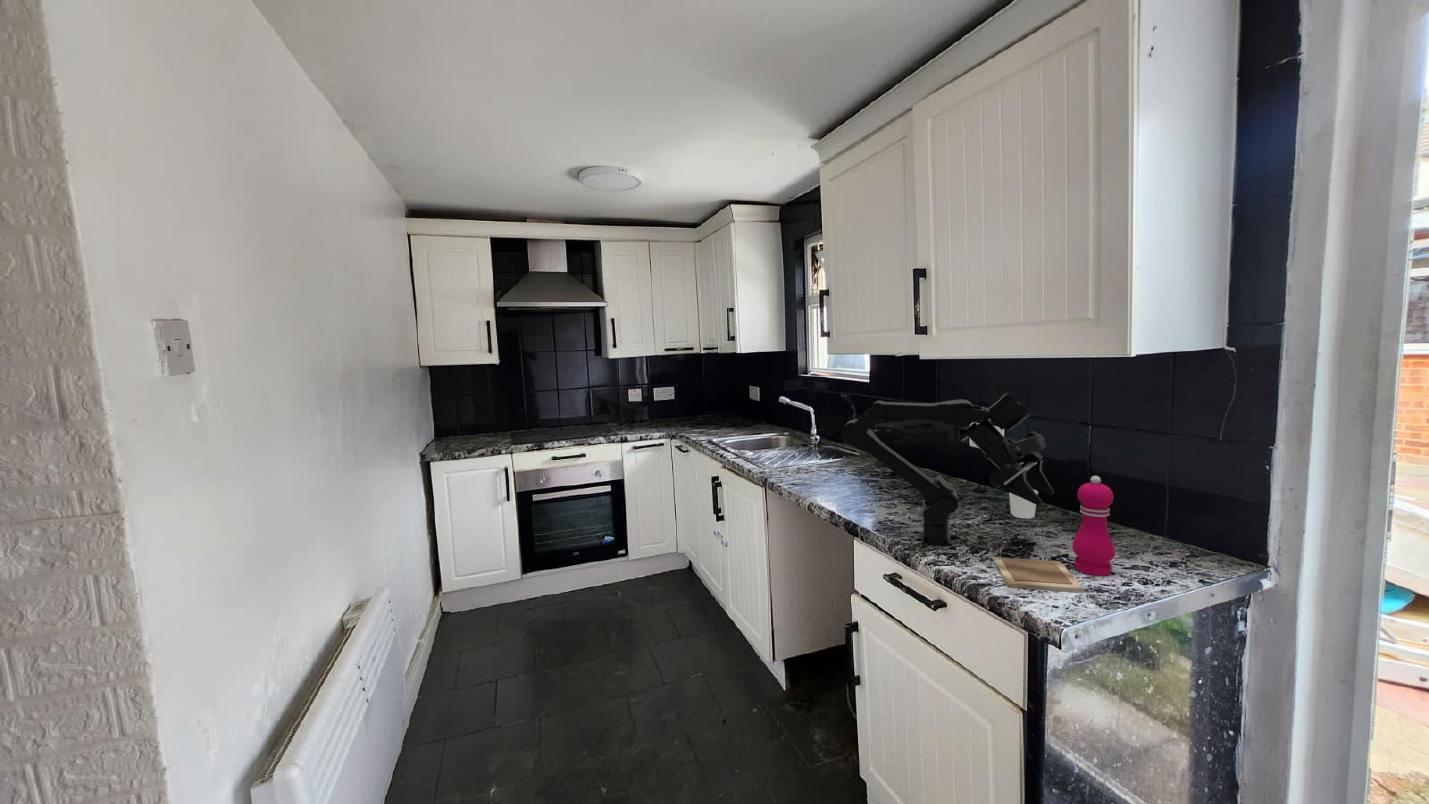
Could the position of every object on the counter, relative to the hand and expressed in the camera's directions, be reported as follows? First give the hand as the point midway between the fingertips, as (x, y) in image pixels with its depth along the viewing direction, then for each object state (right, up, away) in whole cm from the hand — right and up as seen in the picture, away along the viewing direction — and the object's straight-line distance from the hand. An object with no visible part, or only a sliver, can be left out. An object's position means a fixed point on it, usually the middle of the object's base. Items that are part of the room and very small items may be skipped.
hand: (1046, 499), depth 115 cm
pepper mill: (+7, -14, -5) cm, 16 cm away
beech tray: (-6, -15, -6) cm, 17 cm away
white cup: (+12, -10, +30) cm, 34 cm away
